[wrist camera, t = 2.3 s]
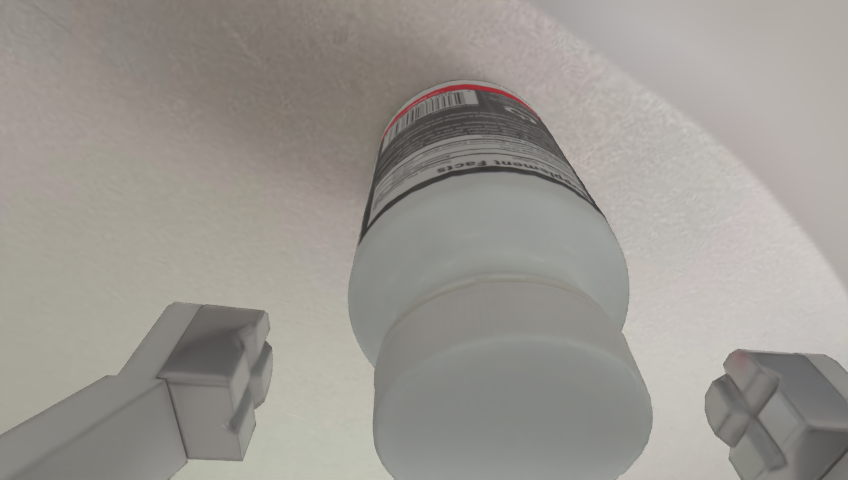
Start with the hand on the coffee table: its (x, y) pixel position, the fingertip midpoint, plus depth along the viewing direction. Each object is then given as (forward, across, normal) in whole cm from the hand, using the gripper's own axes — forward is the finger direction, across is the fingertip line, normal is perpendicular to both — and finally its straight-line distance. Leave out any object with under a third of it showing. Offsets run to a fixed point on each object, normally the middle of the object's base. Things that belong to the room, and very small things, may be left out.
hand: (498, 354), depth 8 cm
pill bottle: (+8, 0, 0) cm, 8 cm away
